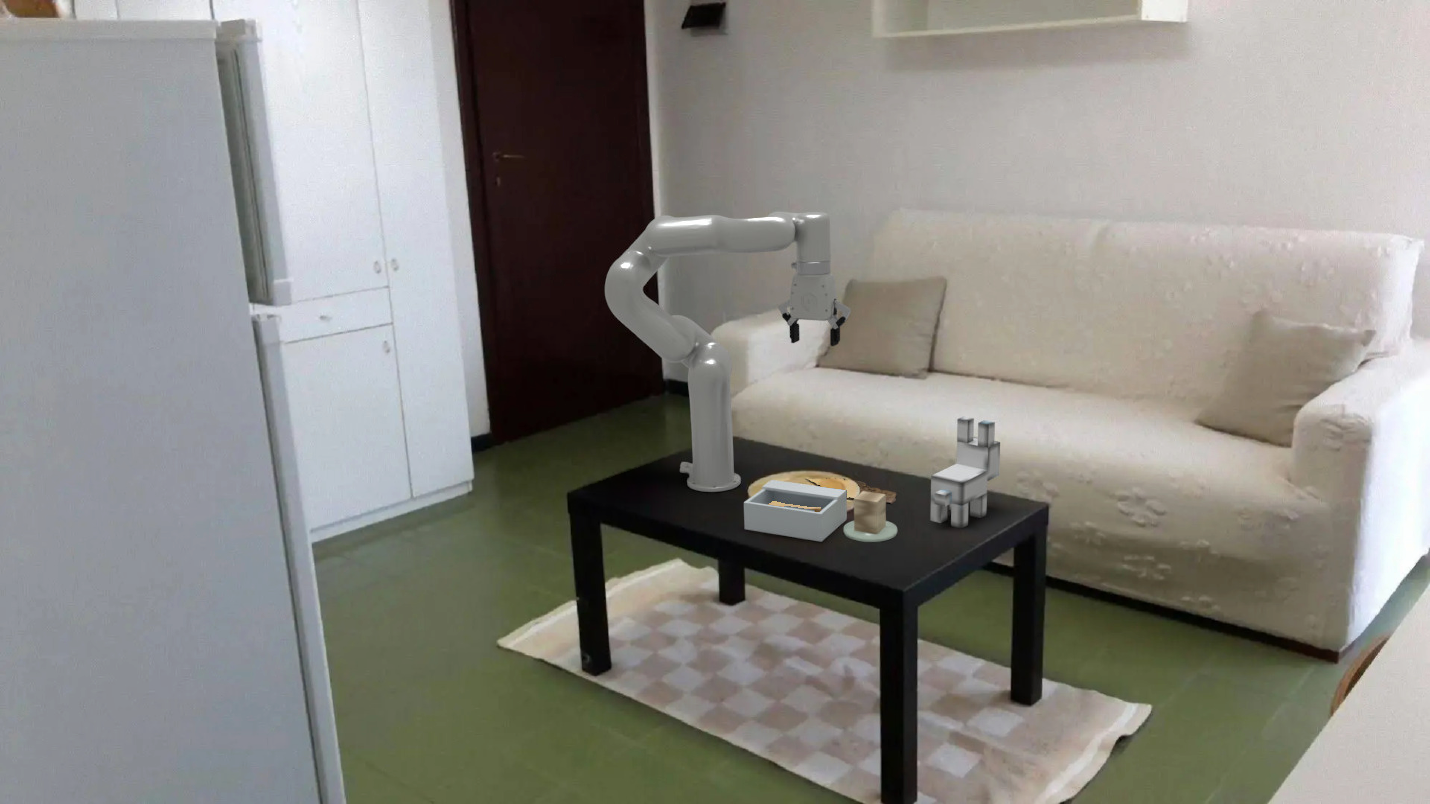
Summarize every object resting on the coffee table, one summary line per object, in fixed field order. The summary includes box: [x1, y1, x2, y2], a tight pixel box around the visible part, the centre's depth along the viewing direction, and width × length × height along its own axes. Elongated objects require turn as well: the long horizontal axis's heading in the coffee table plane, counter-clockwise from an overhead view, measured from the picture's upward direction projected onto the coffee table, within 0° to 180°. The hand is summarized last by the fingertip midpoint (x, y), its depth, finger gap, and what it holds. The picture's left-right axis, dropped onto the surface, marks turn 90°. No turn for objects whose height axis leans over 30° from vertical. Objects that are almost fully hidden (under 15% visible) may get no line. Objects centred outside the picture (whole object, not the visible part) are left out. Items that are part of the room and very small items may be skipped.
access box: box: [743, 479, 848, 543], centre depth 243 cm, size 18×14×7 cm
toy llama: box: [930, 416, 1001, 529], centre depth 242 cm, size 8×18×20 cm, turn 137°
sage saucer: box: [843, 520, 898, 543], centre depth 238 cm, size 11×11×1 cm
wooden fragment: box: [852, 479, 898, 505], centre depth 263 cm, size 26×11×1 cm, turn 41°
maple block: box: [853, 491, 887, 534], centre depth 237 cm, size 5×5×7 cm
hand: (814, 343), depth 260 cm, fingers open, 9 cm apart
